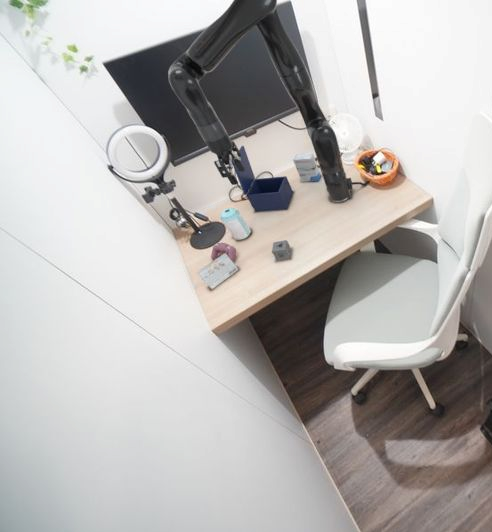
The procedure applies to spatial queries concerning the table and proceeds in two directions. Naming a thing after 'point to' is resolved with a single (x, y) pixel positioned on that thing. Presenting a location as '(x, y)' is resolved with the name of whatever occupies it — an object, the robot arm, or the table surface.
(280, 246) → the dice cube
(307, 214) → the table surface
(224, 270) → the ink box
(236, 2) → the robot arm
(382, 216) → the table surface
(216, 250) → the video game controller
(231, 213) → the can
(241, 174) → the lid
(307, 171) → the ink box
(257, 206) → the chest
